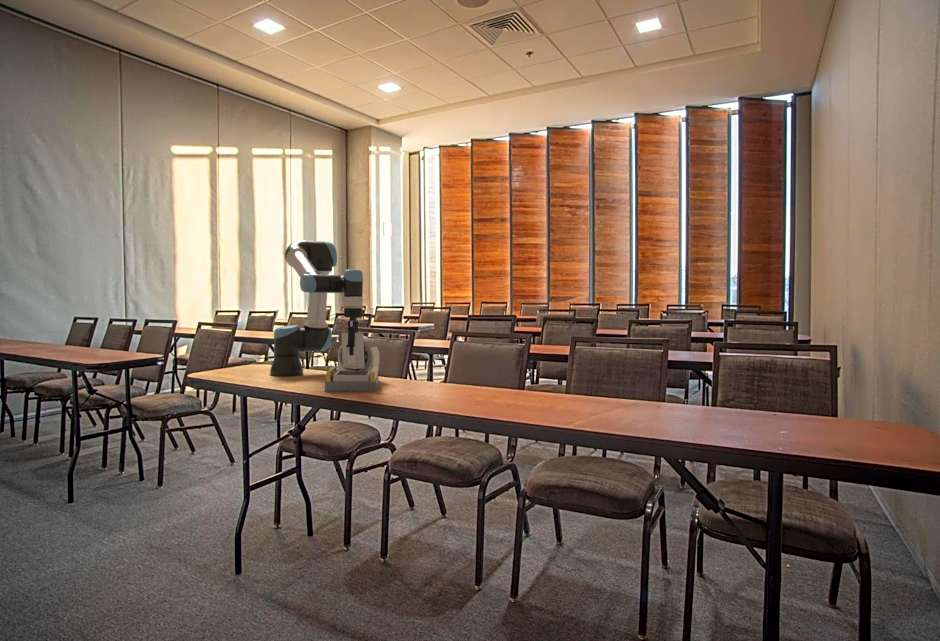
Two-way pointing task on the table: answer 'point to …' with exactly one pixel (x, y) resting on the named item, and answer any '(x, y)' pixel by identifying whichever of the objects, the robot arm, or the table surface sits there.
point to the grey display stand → (351, 381)
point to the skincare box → (358, 351)
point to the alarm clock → (369, 357)
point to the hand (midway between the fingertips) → (352, 361)
